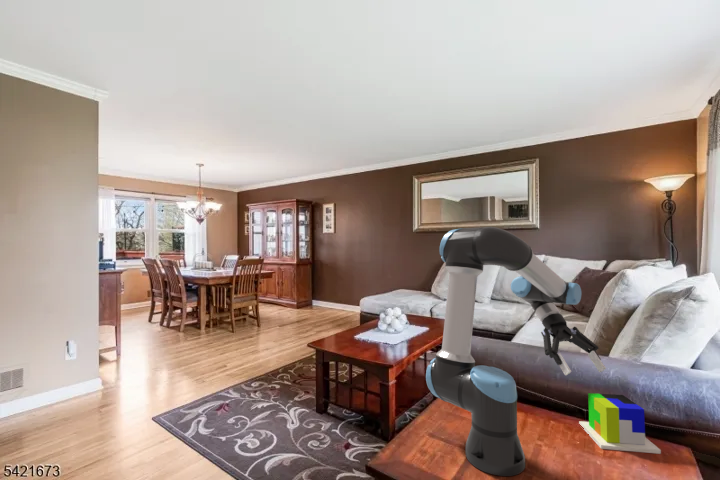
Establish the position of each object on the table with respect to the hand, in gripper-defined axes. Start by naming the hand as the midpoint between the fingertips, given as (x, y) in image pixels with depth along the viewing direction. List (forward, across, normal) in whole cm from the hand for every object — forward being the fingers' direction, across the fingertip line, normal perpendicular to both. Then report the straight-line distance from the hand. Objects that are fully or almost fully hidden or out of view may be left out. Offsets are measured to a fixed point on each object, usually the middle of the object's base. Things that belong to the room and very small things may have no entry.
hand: (585, 372), depth 115 cm
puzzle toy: (+18, 0, -3) cm, 19 cm away
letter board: (+19, 0, -4) cm, 19 cm away
